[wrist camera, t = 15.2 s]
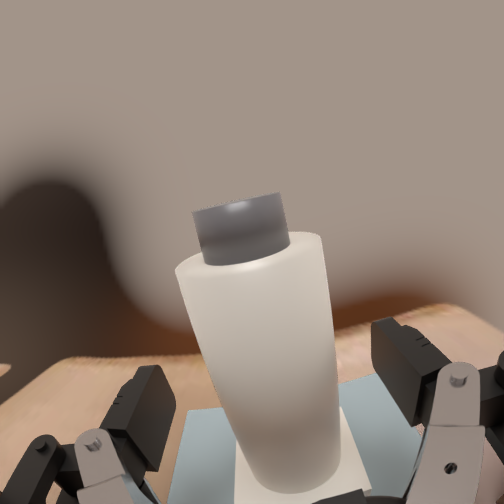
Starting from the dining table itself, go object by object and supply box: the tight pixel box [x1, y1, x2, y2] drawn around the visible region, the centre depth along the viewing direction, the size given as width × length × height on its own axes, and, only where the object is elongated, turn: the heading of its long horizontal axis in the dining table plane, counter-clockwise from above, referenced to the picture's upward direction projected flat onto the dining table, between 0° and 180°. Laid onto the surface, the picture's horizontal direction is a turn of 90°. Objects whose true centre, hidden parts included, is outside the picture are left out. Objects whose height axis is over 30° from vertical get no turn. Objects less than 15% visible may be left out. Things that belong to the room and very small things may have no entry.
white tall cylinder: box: [175, 192, 372, 504], centre depth 10 cm, size 6×6×14 cm
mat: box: [167, 373, 422, 504], centre depth 11 cm, size 14×13×1 cm
